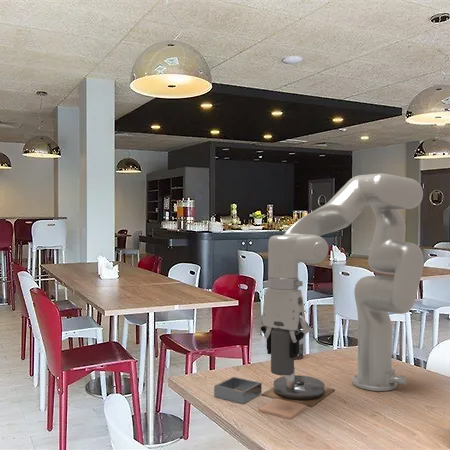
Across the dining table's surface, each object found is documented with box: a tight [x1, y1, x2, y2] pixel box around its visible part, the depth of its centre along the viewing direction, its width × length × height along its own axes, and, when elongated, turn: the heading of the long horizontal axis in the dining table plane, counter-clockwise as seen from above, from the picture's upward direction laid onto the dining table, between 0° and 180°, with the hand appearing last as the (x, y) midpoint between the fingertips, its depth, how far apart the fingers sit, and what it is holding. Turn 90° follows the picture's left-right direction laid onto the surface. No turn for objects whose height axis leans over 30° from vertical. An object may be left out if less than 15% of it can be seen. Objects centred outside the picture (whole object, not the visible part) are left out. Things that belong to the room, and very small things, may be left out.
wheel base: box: [261, 386, 336, 408], centre depth 140 cm, size 15×15×1 cm
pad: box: [258, 398, 308, 420], centre depth 129 cm, size 9×9×1 cm
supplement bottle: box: [294, 328, 304, 360], centre depth 175 cm, size 6×6×11 cm
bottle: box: [270, 315, 295, 377], centre depth 128 cm, size 6×6×15 cm
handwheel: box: [273, 366, 325, 400], centre depth 140 cm, size 14×14×8 cm
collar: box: [213, 376, 263, 405], centre depth 139 cm, size 9×9×3 cm
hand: (282, 354), depth 128 cm, fingers closed on bottle, 5 cm apart
